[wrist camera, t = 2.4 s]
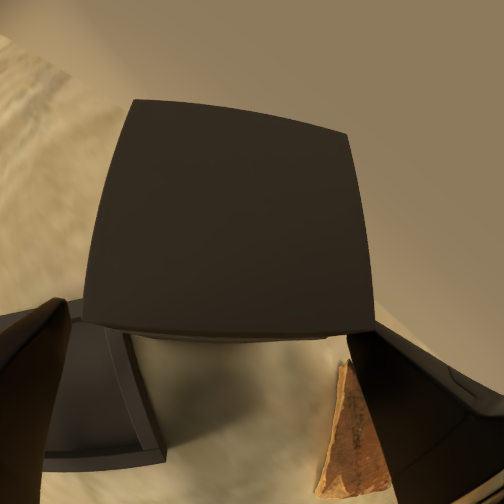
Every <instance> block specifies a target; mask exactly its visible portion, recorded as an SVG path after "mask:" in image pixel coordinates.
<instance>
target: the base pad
mask: <svg viewBox="0 0 504 504" xmlns="http://www.w3.org/2000/svg"><path fill="white" fill-rule="evenodd" d="M82 302H83V298H82V299H78V300H73V301H68V302H67V303H68V307H69V312H70V316H71V320H72V329H71V333H70V338H69V343H68V347H67V352H66V358H65V363H64V368H63V373H62V377H61V380H60V384H59V388H58V392H57V395H56V399H55V404H54V408H53V412H52V417H51V421H50V426H49V431H48V437H47V442H46V448H45V455H44V462H43V469H42V472H91V471H106V470H117V469H126V468H134V467H141V466H147V465H153V464H159V463H164V462H166V457H167V447H166V445H165V443H164V440H163V438H162V435H161V433H160V430H159V428H158V425H157V422H156V420H155V417H154V414H153V411H152V409H151V406H150V403H149V400H148V397H147V394H146V391H145V388H144V385H143V382H142V378H141V375H140V372H139V369H138V365H137V362H136V358H135V354H134V351H133V347H132V343H131V339H130V335H129V333H121V332H114V331H110V330H109V329H108V328H107V327H103V326H100V325H96V324H92V323H89V322H85V321H83V320H82V319H81V313H82ZM35 309H36V308H35ZM35 309H31V310H26V311H21V312H16V313H11V314H7V315H2V316H0V333H1V332H2V331H3V330H5V329H6V328H8V327H9V326H11V325H12V324H14V323H15V322H17V321H18V320H20V319H21V318H23V317H24V316H26V315H27V314H29V313H30V312H32V311H33V310H35Z"/></svg>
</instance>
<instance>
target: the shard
mask: <svg viewBox="0 0 504 504" xmlns="http://www.w3.org/2000/svg"><path fill="white" fill-rule="evenodd" d="M391 483H392V481H391V477H390V474H389V471H388V468H387V464H386V461H385V458H384V455H383V452H382V449H381V446H380V443H379V440H378V437H377V434H376V431H375V428H374V425H373V422H372V419H371V416H370V414H369V411H368V408H367V405H366V402H365V400H364V397H363V394H362V391H361V389H360V386H359V383H358V380H357V377H356V374H355V370H354V366H353V363H352V362H351V360H350V359H348V360H347V362H346V363H345V365H344V366H340V367H339V381H338V384H337V401H336V407H335V414H334V420H333V426H332V434H331V442H330V444H329V447H328V450H327V457H326V462H325V465H324V468H323V471H322V475H321V478H320V481H319V483H318V486H317V488H316V490H315V495H316V497H317V498H318V499H345V498H349V497H356V496H358V495H364V494H369V493H372V492H379V491H384V490H387V489H388V488H389V487H390V486H391Z"/></svg>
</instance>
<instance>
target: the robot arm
mask: <svg viewBox="0 0 504 504" xmlns="http://www.w3.org/2000/svg"><path fill="white" fill-rule="evenodd" d="M71 329H72V320H71V316H70V312H69V307H68V303H67V301H66V300H65V299H62V298H52V299H50V300H49V301H47V302H46V303H44V304H43V305H41V306H39V307H38V308H36V309H35V310H33V311H32V312H30V313H29V314H27V315H26V316H24V317H23V318H21V319H20V320H18V321H17V322H15V323H14V324H12V325H11V326H9V327H8V328H6V329H5V330H3V331H2V332H1V333H0V504H40V489H41V478H42V469H43V462H44V455H45V448H46V442H47V437H48V431H49V426H50V421H51V417H52V412H53V408H54V404H55V399H56V395H57V392H58V388H59V384H60V380H61V377H62V373H63V368H64V363H65V358H66V352H67V347H68V343H69V338H70V333H71ZM347 344H348V348H349V351H350V355H351V359H352V362H353V366H354V370H355V374H356V377H357V380H358V383H359V386H360V389H361V391H362V394H363V397H364V400H365V402H366V405H367V408H368V411H369V414H370V416H371V419H372V422H373V425H374V428H375V431H376V434H377V437H378V440H379V443H380V446H381V449H382V452H383V455H384V458H385V461H386V464H387V468H388V471H389V474H390V477H391V481H392V484H393V488H394V491H395V495H396V498H397V502H398V504H504V395H501V394H499V393H497V392H495V391H493V390H491V389H489V388H487V387H485V386H483V385H481V384H480V383H478V382H476V381H474V380H472V379H470V378H469V377H467V376H465V375H463V374H462V373H460V372H458V371H457V370H455V369H453V368H452V367H450V366H449V365H447V364H445V363H444V362H442V361H440V360H439V359H437V358H436V357H434V356H432V355H431V354H429V353H428V352H426V351H424V350H423V349H421V348H419V347H418V346H416V345H415V344H413V343H411V342H410V341H408V340H406V339H405V338H403V337H402V336H400V335H398V334H397V333H395V332H393V331H392V330H390V329H389V328H387V327H385V326H384V325H382V324H380V323H379V322H377V321H375V330H374V331H369V332H362V333H355V334H347Z"/></svg>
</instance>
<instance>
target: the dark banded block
mask: <svg viewBox="0 0 504 504" xmlns="http://www.w3.org/2000/svg"><path fill="white" fill-rule="evenodd" d="M81 319H82V320H83V321H85V322H89V323H92V324H96V325H100V326H103V327H107V328H108V329H109V330H110V331H114V332H121V333H130V334H135V335H139V336H144V337H148V338H153V339H165V340H179V341H195V342H217V343H255V342H273V341H294V340H319V339H326V338H328V337H330V336H339V335H347V334H355V333H362V332H369V331H374V330H375V311H374V297H373V287H372V275H371V266H370V257H369V249H368V241H367V234H366V227H365V221H364V215H363V209H362V203H361V197H360V192H359V186H358V182H357V176H356V172H355V167H354V163H353V158H352V154H351V149H350V145H349V141H348V137H347V134H345V133H341V132H338V131H334V130H331V129H327V128H323V127H320V126H316V125H312V124H308V123H304V122H300V121H296V120H291V119H287V118H282V117H278V116H272V115H268V114H263V113H257V112H252V111H246V110H240V109H233V108H227V107H220V106H212V105H204V104H195V103H186V102H175V101H160V100H139V99H135V100H133V102H132V105H131V107H130V110H129V112H128V115H127V117H126V120H125V123H124V125H123V128H122V131H121V134H120V136H119V139H118V142H117V145H116V148H115V151H114V154H113V157H112V161H111V164H110V167H109V170H108V174H107V177H106V181H105V185H104V188H103V192H102V196H101V200H100V204H99V208H98V212H97V217H96V221H95V226H94V231H93V236H92V241H91V246H90V252H89V257H88V264H87V270H86V277H85V285H84V293H83V302H82V313H81Z"/></svg>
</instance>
